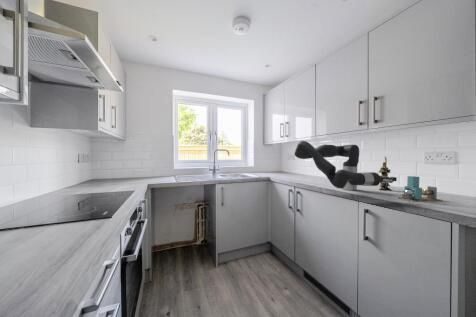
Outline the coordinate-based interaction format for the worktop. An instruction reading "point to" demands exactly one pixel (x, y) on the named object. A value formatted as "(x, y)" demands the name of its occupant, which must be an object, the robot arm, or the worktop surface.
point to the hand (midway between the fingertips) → (395, 179)
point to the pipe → (430, 193)
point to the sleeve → (414, 187)
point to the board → (421, 199)
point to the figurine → (384, 171)
